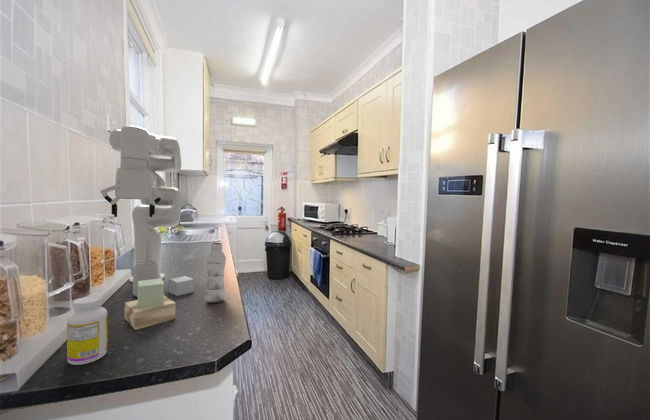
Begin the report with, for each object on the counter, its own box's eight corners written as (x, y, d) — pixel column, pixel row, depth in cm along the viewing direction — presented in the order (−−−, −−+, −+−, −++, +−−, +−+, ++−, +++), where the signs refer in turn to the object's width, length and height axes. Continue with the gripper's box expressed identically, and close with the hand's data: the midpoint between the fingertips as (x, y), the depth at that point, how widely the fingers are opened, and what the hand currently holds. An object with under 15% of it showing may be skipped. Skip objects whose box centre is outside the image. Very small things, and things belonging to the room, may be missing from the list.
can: (137, 299, 94) (138, 264, 94) (129, 294, 99) (129, 261, 98) (161, 294, 100) (161, 261, 100) (152, 289, 105) (153, 258, 104)
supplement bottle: (88, 348, 64) (89, 293, 64) (114, 350, 63) (115, 295, 63) (57, 365, 57) (58, 303, 57) (86, 368, 57) (87, 306, 56)
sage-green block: (137, 301, 81) (137, 281, 81) (161, 297, 84) (161, 278, 84) (138, 308, 76) (138, 286, 76) (163, 304, 80) (164, 283, 79)
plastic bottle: (225, 297, 100) (226, 242, 99) (224, 304, 93) (226, 245, 93) (206, 298, 98) (207, 242, 97) (203, 305, 91) (205, 245, 91)
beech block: (124, 319, 80) (124, 302, 80) (162, 310, 88) (162, 294, 87) (135, 331, 73) (135, 312, 73) (175, 319, 81) (175, 303, 81)
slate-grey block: (168, 292, 103) (169, 279, 103) (184, 288, 108) (185, 275, 108) (177, 296, 99) (177, 282, 99) (193, 292, 104) (193, 279, 104)
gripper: (163, 168, 100) (162, 216, 100) (101, 163, 89) (100, 216, 90) (166, 167, 94) (165, 217, 94) (100, 161, 83) (99, 217, 84)
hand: (133, 216), depth 92 cm, fingers open, 9 cm apart
